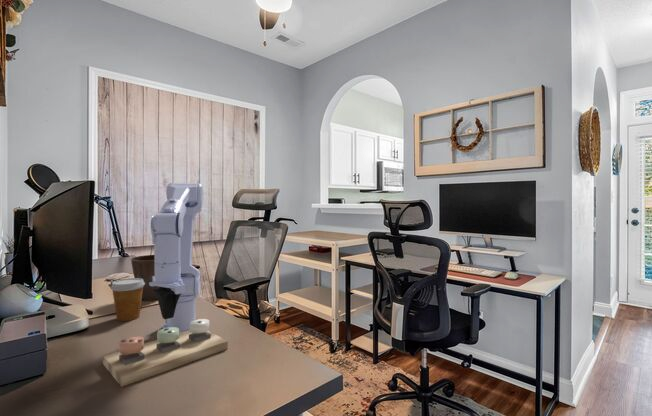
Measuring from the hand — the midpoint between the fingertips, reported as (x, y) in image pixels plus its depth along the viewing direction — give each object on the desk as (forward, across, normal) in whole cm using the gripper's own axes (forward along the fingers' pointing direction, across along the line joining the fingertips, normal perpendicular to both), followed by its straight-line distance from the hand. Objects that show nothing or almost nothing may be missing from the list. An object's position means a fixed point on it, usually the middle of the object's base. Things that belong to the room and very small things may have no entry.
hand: (168, 317), depth 81 cm
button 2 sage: (+5, 0, 0) cm, 5 cm away
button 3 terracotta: (+5, 0, -8) cm, 10 cm away
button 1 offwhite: (+5, 0, +8) cm, 10 cm away
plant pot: (+10, -55, +16) cm, 58 cm away
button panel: (+9, 0, 0) cm, 9 cm away
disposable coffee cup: (+10, -37, +2) cm, 38 cm away
